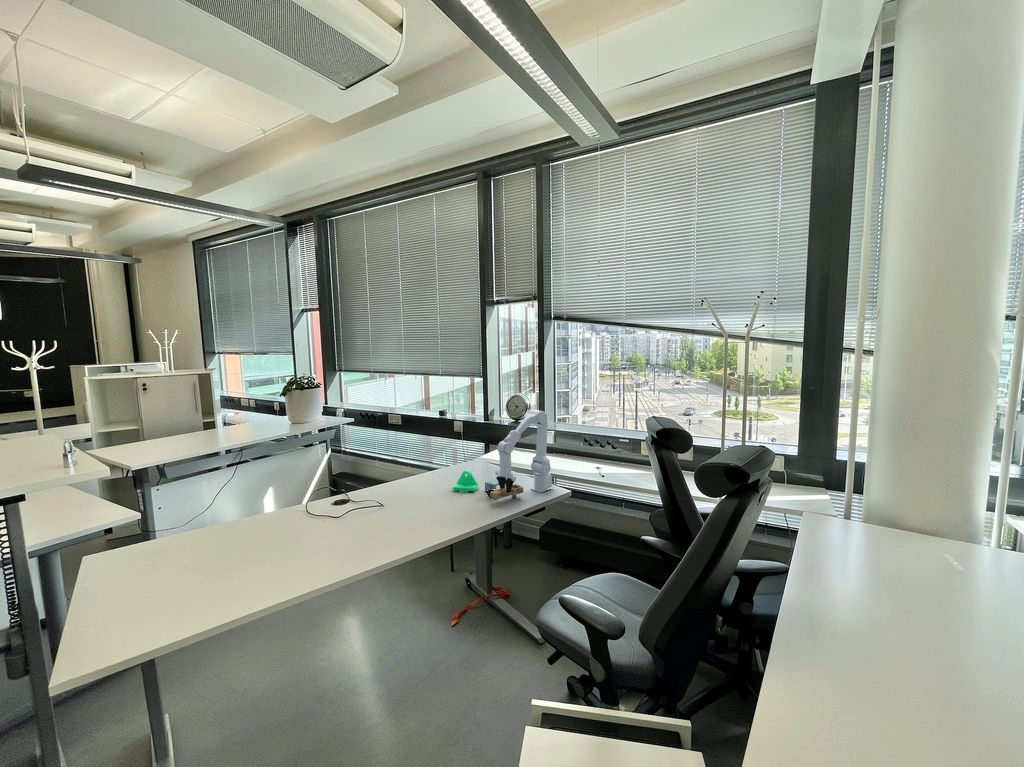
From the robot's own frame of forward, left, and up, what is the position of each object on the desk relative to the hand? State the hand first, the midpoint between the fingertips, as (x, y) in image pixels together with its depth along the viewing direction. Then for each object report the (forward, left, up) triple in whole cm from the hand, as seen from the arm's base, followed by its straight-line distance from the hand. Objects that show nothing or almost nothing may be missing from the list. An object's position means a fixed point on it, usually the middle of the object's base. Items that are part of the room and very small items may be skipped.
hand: (505, 491), depth 226 cm
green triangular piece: (+7, -27, -5) cm, 28 cm away
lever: (0, 0, -2) cm, 2 cm away
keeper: (-3, -15, -5) cm, 16 cm away
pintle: (-6, 0, -5) cm, 7 cm away
